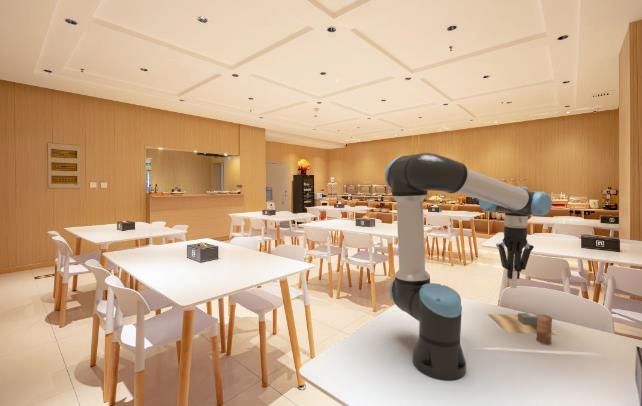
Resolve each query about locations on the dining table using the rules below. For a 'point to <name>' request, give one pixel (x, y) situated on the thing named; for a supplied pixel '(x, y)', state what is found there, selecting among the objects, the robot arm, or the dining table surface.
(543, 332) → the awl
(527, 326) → the board
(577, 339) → the dining table surface
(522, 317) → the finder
